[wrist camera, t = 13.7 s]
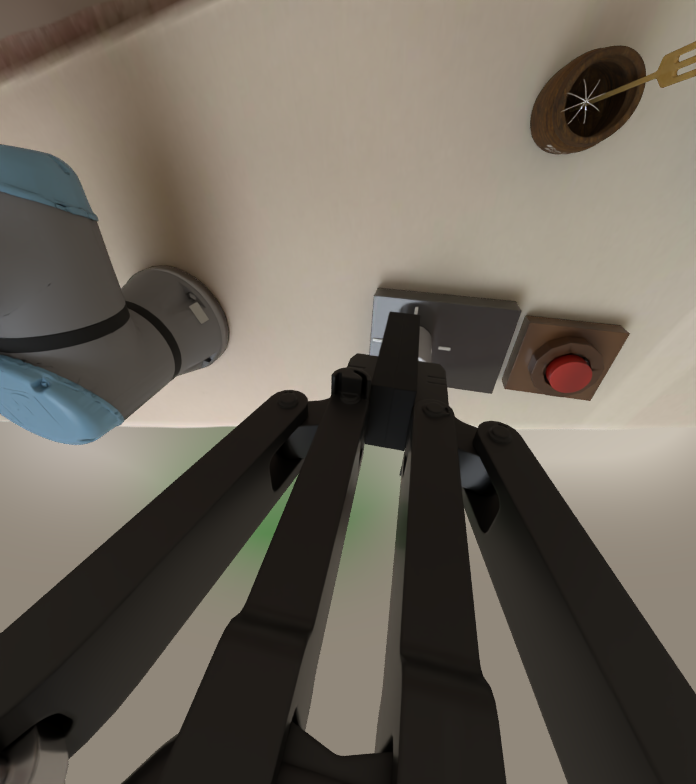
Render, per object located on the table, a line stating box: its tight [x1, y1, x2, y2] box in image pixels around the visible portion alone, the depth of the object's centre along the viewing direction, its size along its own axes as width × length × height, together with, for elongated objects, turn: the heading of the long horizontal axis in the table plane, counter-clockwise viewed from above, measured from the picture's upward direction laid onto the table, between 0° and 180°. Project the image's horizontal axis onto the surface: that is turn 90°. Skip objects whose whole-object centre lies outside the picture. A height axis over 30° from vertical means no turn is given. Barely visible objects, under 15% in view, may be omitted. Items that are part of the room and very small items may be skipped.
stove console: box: [369, 288, 521, 394], centre depth 40 cm, size 16×11×3 cm
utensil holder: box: [530, 41, 696, 154], centre depth 23 cm, size 6×6×12 cm
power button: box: [546, 354, 592, 393], centre depth 36 cm, size 4×4×2 cm
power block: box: [502, 316, 630, 401], centre depth 38 cm, size 10×9×4 cm
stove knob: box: [418, 326, 433, 363], centre depth 36 cm, size 5×5×8 cm
